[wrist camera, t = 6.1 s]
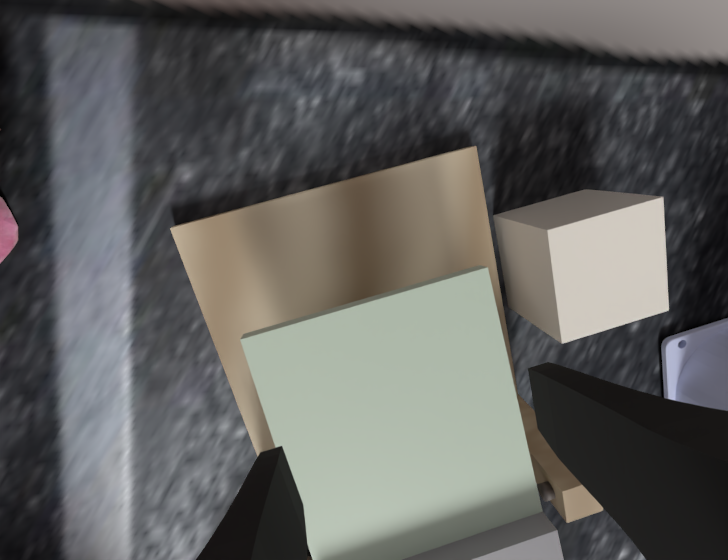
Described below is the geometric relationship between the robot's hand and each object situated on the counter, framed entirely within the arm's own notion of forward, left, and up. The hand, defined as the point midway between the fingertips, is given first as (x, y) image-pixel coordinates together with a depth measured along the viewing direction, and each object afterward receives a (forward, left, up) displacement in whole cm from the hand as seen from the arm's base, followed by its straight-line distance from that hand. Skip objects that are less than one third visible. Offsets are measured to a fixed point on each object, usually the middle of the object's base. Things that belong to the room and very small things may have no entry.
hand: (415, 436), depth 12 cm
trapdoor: (0, +4, -6) cm, 7 cm away
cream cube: (-10, 0, -10) cm, 15 cm away
